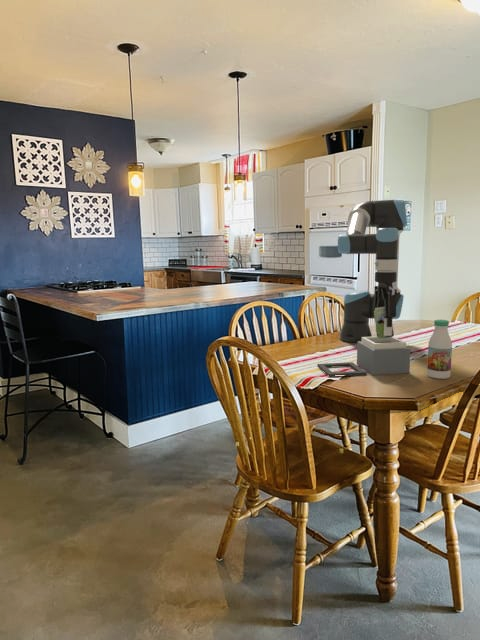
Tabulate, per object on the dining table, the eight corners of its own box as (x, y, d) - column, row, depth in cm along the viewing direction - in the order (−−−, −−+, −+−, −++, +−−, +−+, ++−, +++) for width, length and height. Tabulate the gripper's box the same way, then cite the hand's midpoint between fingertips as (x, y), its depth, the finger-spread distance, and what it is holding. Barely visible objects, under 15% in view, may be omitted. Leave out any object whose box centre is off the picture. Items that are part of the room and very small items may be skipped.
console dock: (356, 364, 183) (357, 336, 181) (390, 362, 185) (392, 334, 183) (372, 375, 169) (373, 345, 167) (409, 373, 170) (410, 343, 169)
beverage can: (394, 340, 171) (396, 308, 169) (373, 340, 173) (374, 307, 170) (392, 337, 177) (394, 305, 175) (372, 336, 179) (373, 305, 177)
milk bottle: (422, 373, 170) (425, 318, 166) (443, 372, 170) (446, 318, 167) (433, 379, 162) (436, 322, 159) (454, 379, 163) (458, 322, 159)
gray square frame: (317, 366, 181) (317, 363, 181) (352, 364, 183) (352, 362, 182) (328, 376, 167) (328, 374, 167) (366, 374, 169) (366, 372, 169)
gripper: (365, 269, 180) (363, 328, 184) (387, 273, 161) (385, 339, 165) (384, 269, 181) (381, 328, 185) (408, 272, 162) (405, 338, 165)
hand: (383, 333), depth 175 cm, fingers closed on beverage can, 7 cm apart
